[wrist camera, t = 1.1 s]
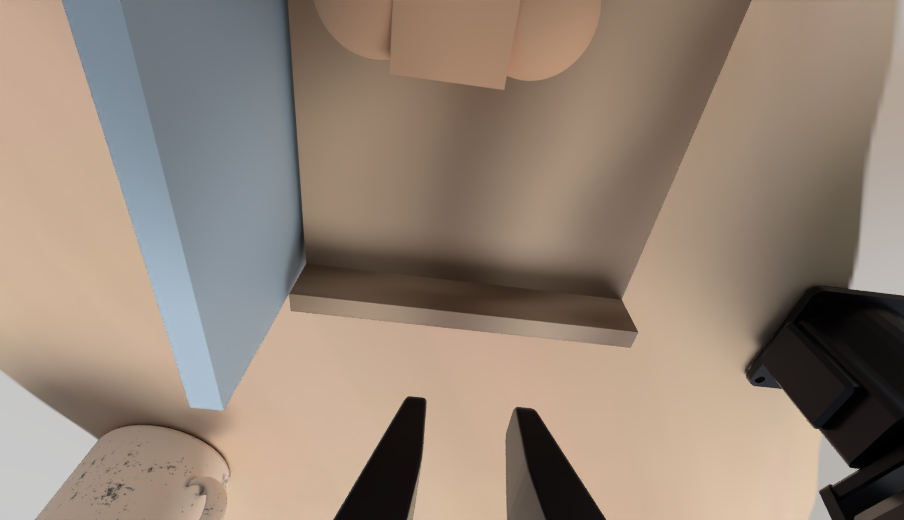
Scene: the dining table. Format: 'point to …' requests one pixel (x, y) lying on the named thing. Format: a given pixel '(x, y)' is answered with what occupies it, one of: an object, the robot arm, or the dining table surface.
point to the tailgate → (202, 167)
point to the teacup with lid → (144, 479)
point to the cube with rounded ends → (465, 36)
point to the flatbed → (498, 175)
